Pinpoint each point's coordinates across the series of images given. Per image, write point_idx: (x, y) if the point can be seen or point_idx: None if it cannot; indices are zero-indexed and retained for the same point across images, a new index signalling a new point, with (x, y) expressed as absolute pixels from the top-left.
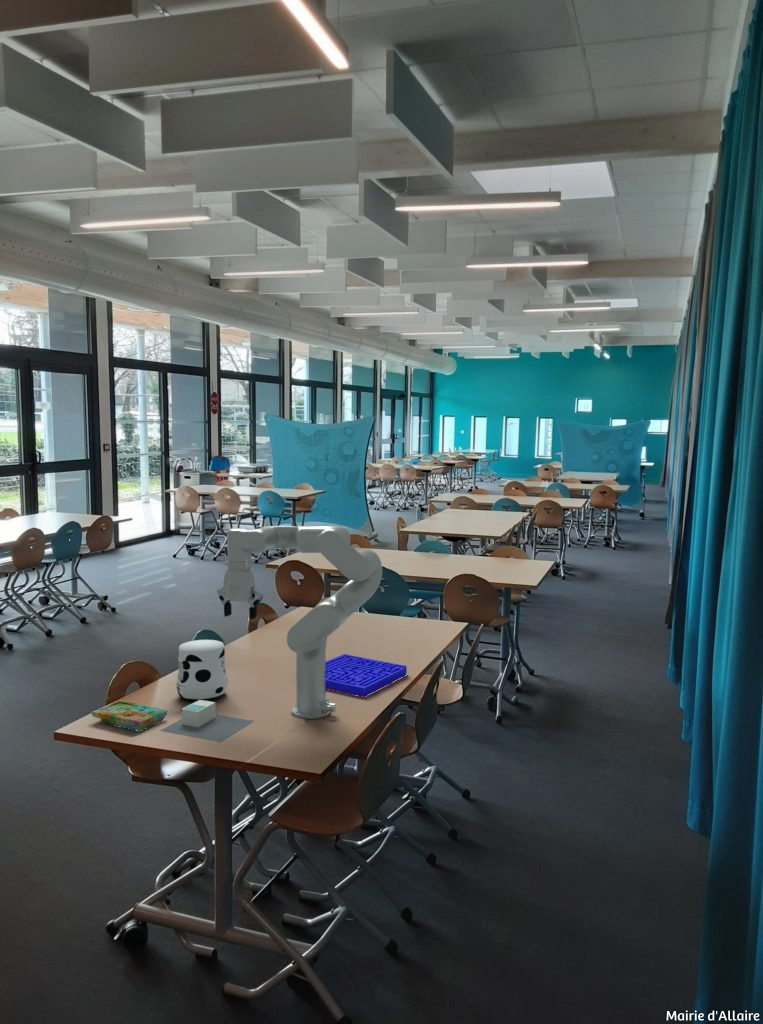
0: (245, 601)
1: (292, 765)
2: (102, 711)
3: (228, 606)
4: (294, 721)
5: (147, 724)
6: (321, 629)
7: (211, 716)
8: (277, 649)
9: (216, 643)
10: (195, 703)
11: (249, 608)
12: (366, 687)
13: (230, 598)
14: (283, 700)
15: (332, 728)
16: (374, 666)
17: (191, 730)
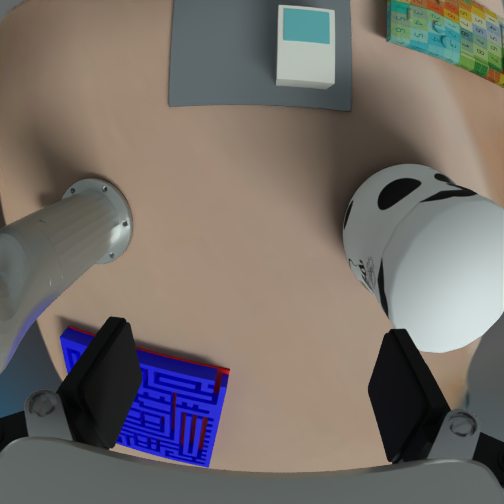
0: (58, 438)
1: (30, 7)
2: (492, 16)
3: (401, 421)
4: (97, 158)
5: None
6: None
7: (276, 67)
8: (351, 466)
9: (425, 326)
10: (326, 53)
11: (84, 386)
12: (61, 342)
13: (361, 494)
14: (190, 266)
15: (28, 164)
16: (124, 430)
17: (280, 1)
